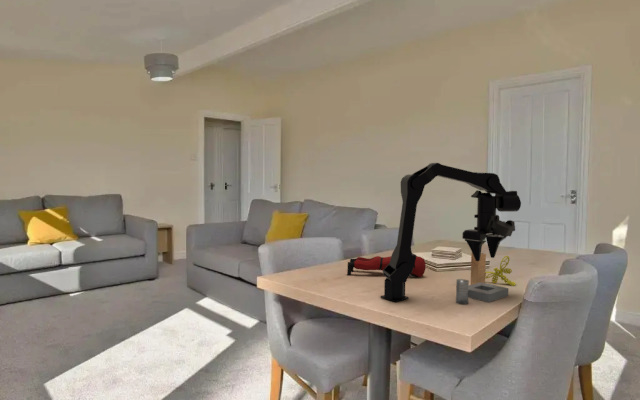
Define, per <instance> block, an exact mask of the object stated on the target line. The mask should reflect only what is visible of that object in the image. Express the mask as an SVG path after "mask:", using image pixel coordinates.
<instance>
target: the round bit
mask: <svg viewBox="0 0 640 400" xmlns="http://www.w3.org/2000/svg"><path fill="white" fill-rule="evenodd" d="M455 283H456V284H455V285H456V287H455V303H456V304H458V305H465V306H466V305H468V304H469V297H468V289H469V285H470V284H469V283H470V282H469V280H468V279H466V278H465V279H464V278H458V279H456V282H455Z"/></svg>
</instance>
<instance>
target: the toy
mask: <svg viewBox="0 0 640 400" xmlns="http://www.w3.org/2000/svg"><path fill="white" fill-rule="evenodd" d="M391 256H392V255H391ZM391 256H385V257H383V256H379V255H376V256H373V257H371V258H367V257H362V256H358V257H356V258H349V261H347V271H346V272H347V276H351V275H352V273H353V272H354V269H356V270H361V271H383V269H384V268H385V267H386V266H387V265H388V264H389V263H390V259H391ZM426 269H427V268H426V261H425V259H424V258H423V257H421V256H417V255H416V260H415V268H413V271H412V273H411V274H409V276H408V277H411V278H412V277H413V278H422V277H423V276H424V274H425V272H426Z"/></svg>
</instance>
